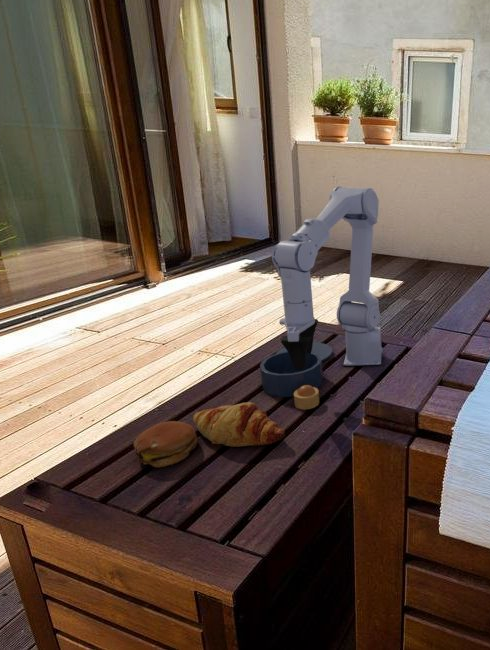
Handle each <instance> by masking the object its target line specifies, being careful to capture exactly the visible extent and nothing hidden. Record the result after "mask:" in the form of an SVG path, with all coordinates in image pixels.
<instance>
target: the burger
mask: <svg viewBox="0 0 490 650" xmlns="http://www.w3.org/2000/svg"><path fill="white" fill-rule="evenodd" d="M198 442H199V439H198V435H197V432H196V430H195V429H194V427H193V426H192V425H191V424H189V423H187V422H183V421H176V420H170V421H163V422H159V423H156V424H154V425H153V426H151V427H148V428H147V429H145V430H144V431H143V432H141V433H140V434H139V435H138V436H137V437H136V439H135V440H134V442H133V445H132V446H133V448H134V450H136V451H135V456H137V457H138V458H137V462H139V463H142V464H143V465H150V466H151V467H154V468H165V467H170V466H173V465H174V464H177V463H180V462H181V461H183V460H185V459H186V458H187V457H188V456H189V455H190V453H191V452H192V451H193V450H194V449H195V448H196V446H197V444H198Z"/></svg>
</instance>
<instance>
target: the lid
mask: <svg viewBox="0 0 490 650" xmlns="http://www.w3.org/2000/svg"><path fill="white" fill-rule="evenodd" d="M285 351H287V350H286V348H285V347H284V346H283V347H281V348H280V349H279V350H277V351H276V353H275V354H277V353H280V352H285ZM312 352H314V353H316V354H319V356H320V357H321V359H322V362H324V361H327V359H329V358H330V357H331V356H332V354H333V349H332V347H331V346H329V345H328V344H326V343H323V342H317V341H313V346H312Z"/></svg>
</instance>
